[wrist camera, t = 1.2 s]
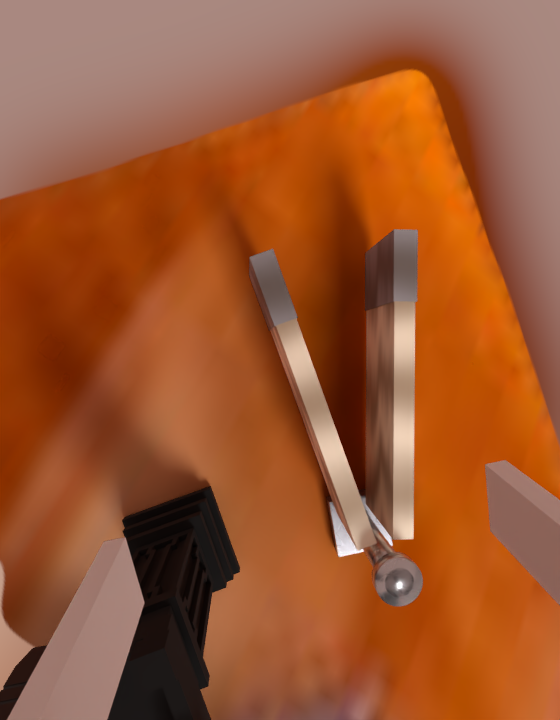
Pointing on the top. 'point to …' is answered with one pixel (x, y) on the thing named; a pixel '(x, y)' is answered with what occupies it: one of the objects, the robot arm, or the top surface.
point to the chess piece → (173, 606)
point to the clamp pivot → (380, 559)
